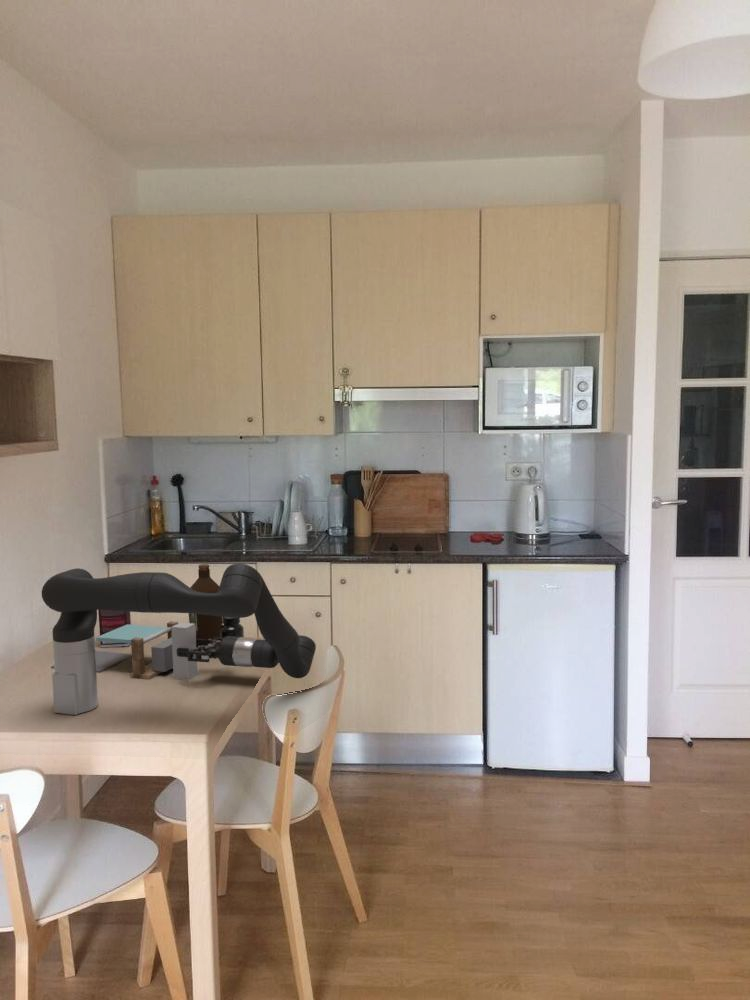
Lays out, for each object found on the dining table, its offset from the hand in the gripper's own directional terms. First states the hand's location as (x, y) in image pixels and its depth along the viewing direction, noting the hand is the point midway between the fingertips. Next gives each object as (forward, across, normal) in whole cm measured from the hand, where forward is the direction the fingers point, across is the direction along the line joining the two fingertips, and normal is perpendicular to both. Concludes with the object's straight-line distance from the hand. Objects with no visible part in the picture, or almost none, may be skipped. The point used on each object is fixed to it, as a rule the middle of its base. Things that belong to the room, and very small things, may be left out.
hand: (186, 647), depth 205 cm
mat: (+34, -5, +8) cm, 35 cm away
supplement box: (+38, -21, +8) cm, 44 cm away
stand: (+11, -5, +8) cm, 15 cm away
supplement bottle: (-4, -19, +8) cm, 21 cm away
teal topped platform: (+16, -5, +7) cm, 18 cm away
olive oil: (+10, -27, +8) cm, 30 cm away
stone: (0, 0, +8) cm, 8 cm away
